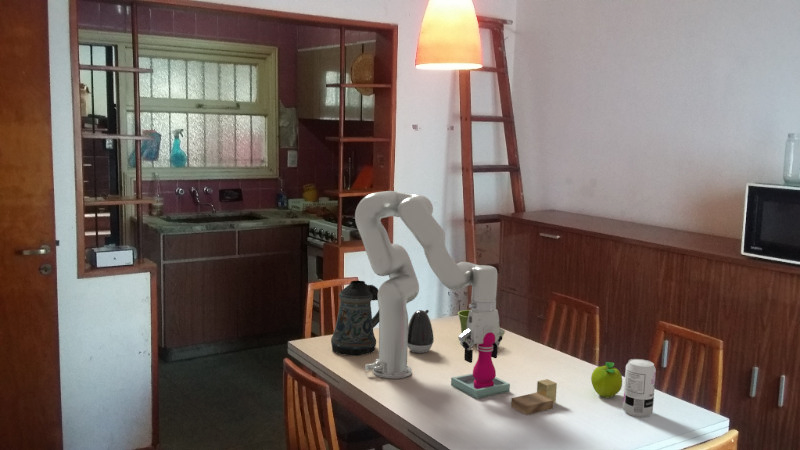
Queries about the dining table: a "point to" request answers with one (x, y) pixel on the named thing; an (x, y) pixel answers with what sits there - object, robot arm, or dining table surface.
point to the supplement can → (639, 388)
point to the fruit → (606, 380)
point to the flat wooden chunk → (532, 403)
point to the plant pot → (463, 320)
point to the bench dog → (547, 389)
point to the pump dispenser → (420, 332)
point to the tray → (467, 386)
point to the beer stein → (355, 320)
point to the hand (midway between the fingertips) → (480, 359)
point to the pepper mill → (484, 363)
